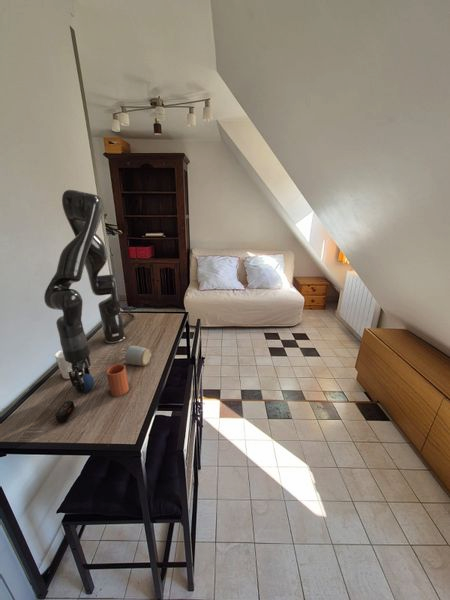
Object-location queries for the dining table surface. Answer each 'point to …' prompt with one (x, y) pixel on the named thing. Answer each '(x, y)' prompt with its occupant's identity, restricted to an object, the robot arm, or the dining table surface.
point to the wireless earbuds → (65, 412)
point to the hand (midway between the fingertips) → (85, 385)
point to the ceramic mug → (137, 355)
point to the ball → (87, 382)
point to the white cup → (63, 364)
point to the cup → (117, 379)
